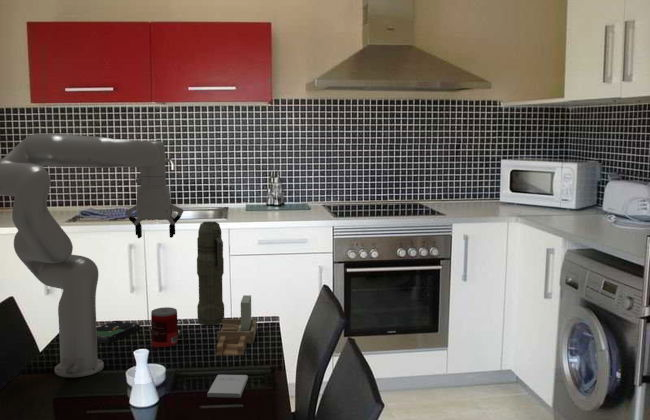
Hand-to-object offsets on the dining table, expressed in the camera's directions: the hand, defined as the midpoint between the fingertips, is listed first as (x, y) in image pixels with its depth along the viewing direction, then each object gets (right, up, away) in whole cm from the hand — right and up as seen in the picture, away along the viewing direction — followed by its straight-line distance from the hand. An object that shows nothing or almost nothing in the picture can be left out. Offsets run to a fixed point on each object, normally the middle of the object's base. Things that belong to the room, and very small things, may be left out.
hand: (155, 237), depth 198 cm
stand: (+24, -34, -7) cm, 42 cm away
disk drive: (-16, -32, +9) cm, 37 cm away
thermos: (+13, -31, +21) cm, 40 cm away
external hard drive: (+27, -38, -33) cm, 57 cm away
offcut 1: (+22, -30, +2) cm, 37 cm away
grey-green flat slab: (+27, -32, +5) cm, 42 cm away
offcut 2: (+22, -31, +8) cm, 39 cm away
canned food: (+3, -33, -1) cm, 33 cm away
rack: (+24, -32, +5) cm, 41 cm away
